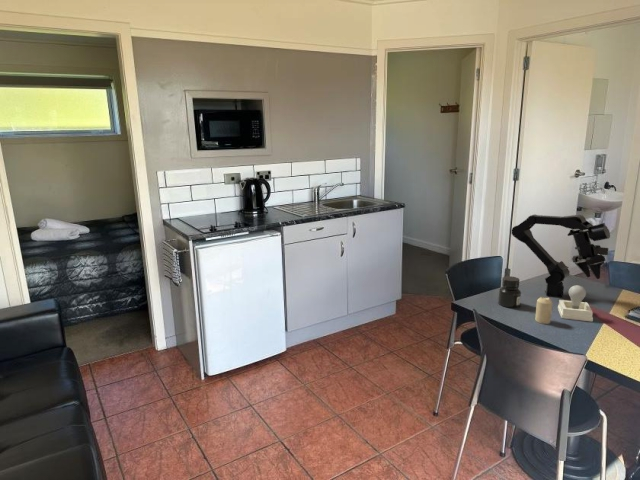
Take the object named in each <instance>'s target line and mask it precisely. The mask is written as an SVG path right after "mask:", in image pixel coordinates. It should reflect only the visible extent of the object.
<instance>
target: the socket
mask: <svg viewBox="0 0 640 480" xmlns="http://www.w3.org/2000/svg"><path fill="white" fill-rule="evenodd" d="M558 301H559V302H558V305H557V310H558V313H559V315H560V318H561V319H567V320H573V321H585V322H593V320H594V318H593V314H594V312H593V310H592V308H591V306H590V305H589V303H588V302H586V301H585V302H583V301H581V303H580V306H579V309H572V304H571V300H564V299H559V300H558Z"/></svg>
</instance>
